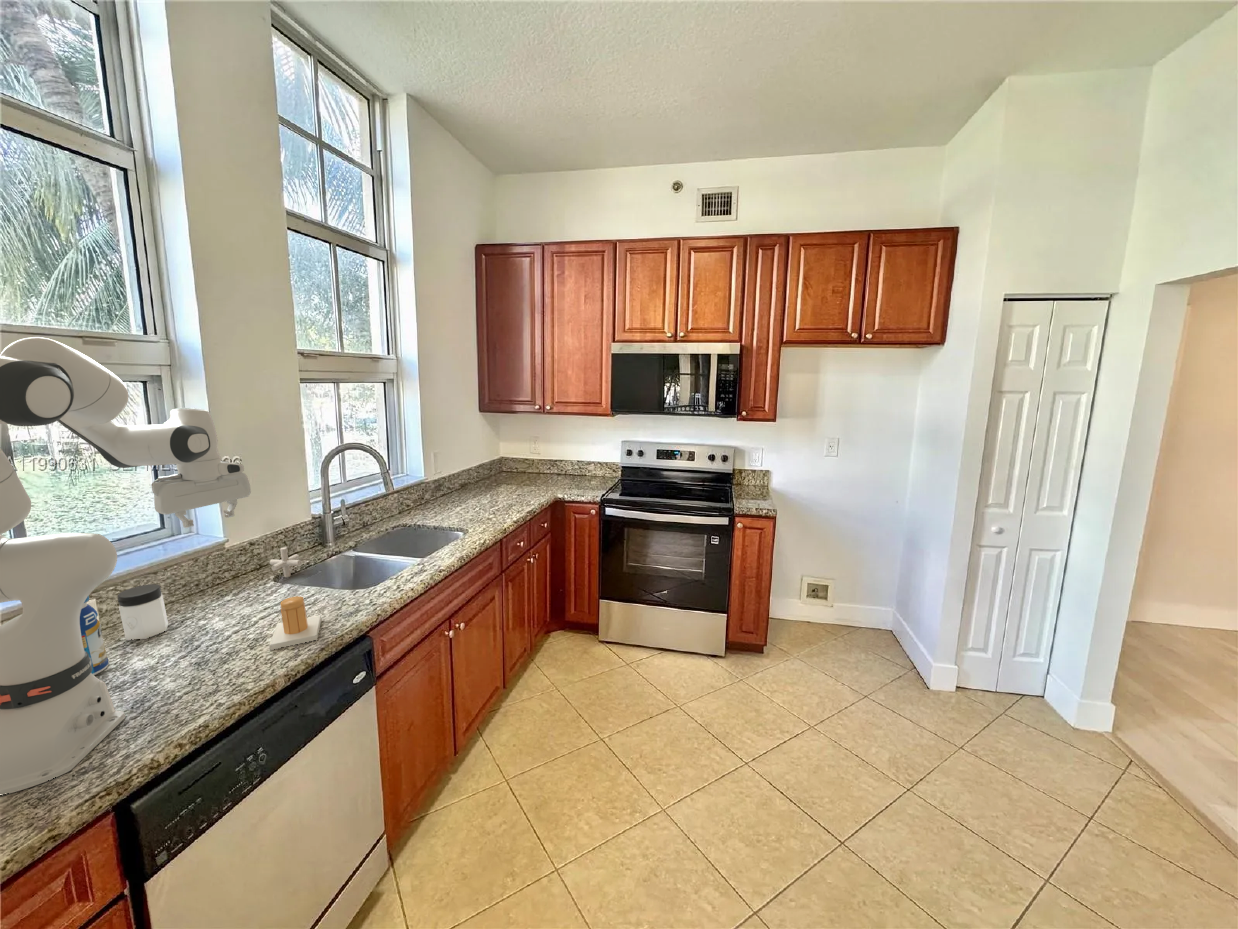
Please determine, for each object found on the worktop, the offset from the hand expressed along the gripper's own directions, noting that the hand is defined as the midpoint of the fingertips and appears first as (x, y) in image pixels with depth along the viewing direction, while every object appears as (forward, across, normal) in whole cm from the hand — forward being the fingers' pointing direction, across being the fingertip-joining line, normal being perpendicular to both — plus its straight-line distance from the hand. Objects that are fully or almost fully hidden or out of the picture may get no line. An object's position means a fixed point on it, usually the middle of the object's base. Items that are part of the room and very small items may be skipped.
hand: (209, 521), depth 129 cm
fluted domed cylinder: (+28, +3, -24) cm, 37 cm away
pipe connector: (+29, +27, +17) cm, 43 cm away
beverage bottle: (+29, -27, +6) cm, 40 cm away
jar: (+29, -11, +15) cm, 35 cm away
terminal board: (+29, +3, -24) cm, 38 cm away
